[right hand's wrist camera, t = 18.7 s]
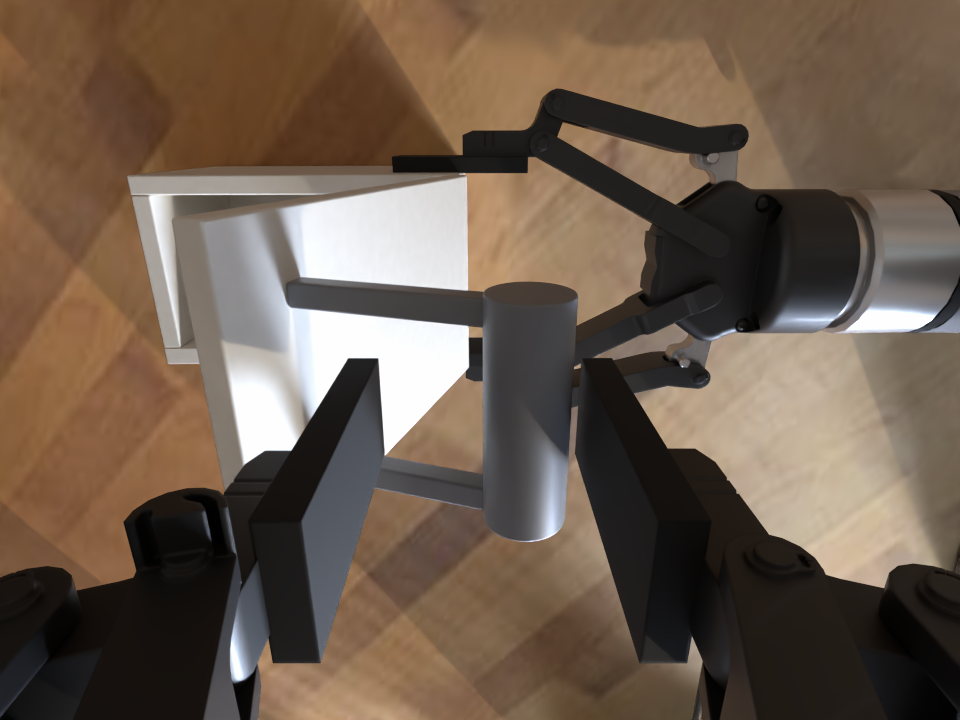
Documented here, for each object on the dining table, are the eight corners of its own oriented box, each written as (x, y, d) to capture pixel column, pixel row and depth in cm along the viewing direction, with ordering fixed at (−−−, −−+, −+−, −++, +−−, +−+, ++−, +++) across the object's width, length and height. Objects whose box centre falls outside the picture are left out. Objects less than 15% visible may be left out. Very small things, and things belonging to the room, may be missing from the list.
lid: (239, 575, 15) (536, 658, 13) (168, 217, 12) (555, 236, 9) (454, 365, 29) (615, 386, 27) (450, 174, 26) (634, 177, 23)
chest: (239, 312, 38) (167, 364, 30) (215, 166, 35) (126, 175, 26) (466, 311, 38) (462, 363, 30) (464, 165, 35) (458, 174, 26)
